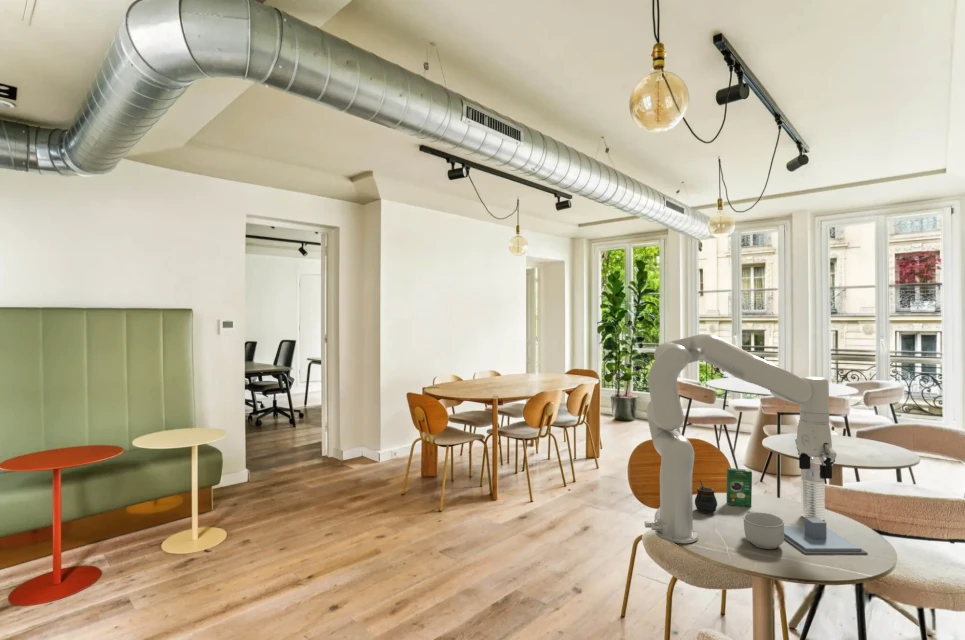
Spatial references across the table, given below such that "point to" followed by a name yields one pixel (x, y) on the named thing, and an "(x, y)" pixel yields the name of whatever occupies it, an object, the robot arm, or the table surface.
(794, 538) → the lid
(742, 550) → the table surface
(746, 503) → the coffee box
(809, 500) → the water bottle
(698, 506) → the mate gourd
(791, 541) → the mat
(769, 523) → the teacup
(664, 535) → the robot arm
